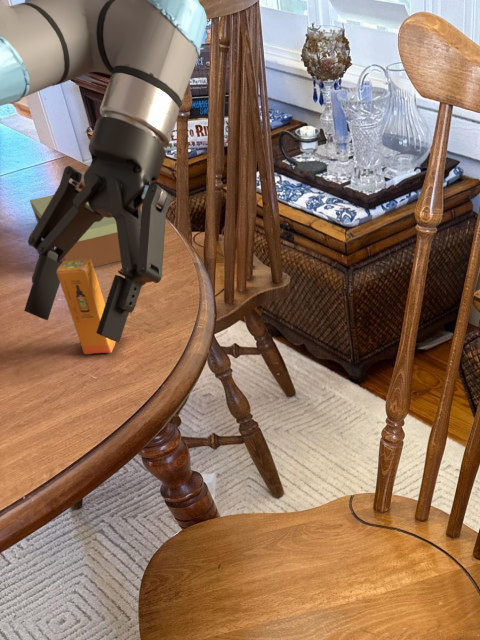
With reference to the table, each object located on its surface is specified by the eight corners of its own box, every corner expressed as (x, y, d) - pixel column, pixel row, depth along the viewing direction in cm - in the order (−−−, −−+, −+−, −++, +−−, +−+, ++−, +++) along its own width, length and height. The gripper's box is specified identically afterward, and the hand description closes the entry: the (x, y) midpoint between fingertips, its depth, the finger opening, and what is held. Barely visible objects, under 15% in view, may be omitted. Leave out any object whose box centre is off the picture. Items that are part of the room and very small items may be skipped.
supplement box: (118, 339, 92) (93, 256, 85) (112, 354, 90) (85, 270, 83) (90, 340, 92) (62, 258, 85) (82, 355, 90) (53, 272, 83)
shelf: (41, 234, 115) (29, 199, 112) (108, 218, 119) (98, 185, 116) (69, 273, 105) (56, 237, 102) (141, 255, 109) (131, 219, 106)
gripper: (235, 166, 84) (171, 360, 85) (83, 138, 93) (26, 315, 94) (193, 126, 77) (124, 339, 78) (32, 100, 86) (-28, 292, 87)
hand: (71, 326), depth 86 cm, fingers open, 10 cm apart
